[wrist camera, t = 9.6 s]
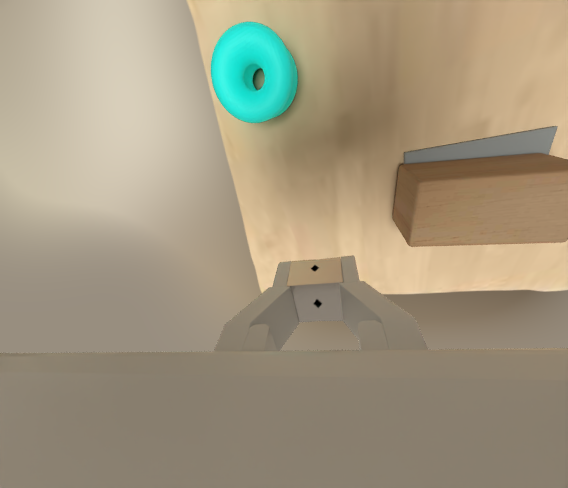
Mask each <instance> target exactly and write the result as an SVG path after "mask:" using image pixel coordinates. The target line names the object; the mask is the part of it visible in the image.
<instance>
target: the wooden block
mask: <svg viewBox="0 0 568 488" xmlns="http://www.w3.org/2000/svg"><path fill="white" fill-rule="evenodd" d="M393 220H394V222H395V223H396V225H397V227H398V228H399V230H400V232H401V233H402V235H403V237H404V238H405V240H406V242H407V244H408V245H409V246H411V247H418V246H453V245H488V244H523V243H558V242H566V241H567V240H568V160H567V159H563V158H559V157H555V156H551V155H547V154H543V153H533V154H521V155H509V156H497V157H485V158H473V159H461V160H449V161H437V162H425V163H413V164H402V165H400V167H399V171H398V179H397V188H396V196H395V204H394V212H393Z"/></svg>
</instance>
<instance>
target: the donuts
mask: <svg viewBox="0 0 568 488" xmlns="http://www.w3.org/2000/svg"><path fill="white" fill-rule="evenodd" d="M260 68H262V69H263V71H264V75H265V80H264V84H263V86H262V88H261V89H260V90H257V89H256V88H255V87H254V85H253V75H254V73H255V71H256V70H258V69H260ZM211 77H212V83H213V87H214V90H215V92H216V95H217V97H218V99H219V101H220V102H221V104H222V105H223V106H224V108H225V109H226V110H227V111H228V112H229V113H230V114H232V115H233V116H234V117H236V118H237V119H239V120H242V121H244V122H248V123H260V122H264V121H267V120H269V119H272V118H275V117H277V116H279V115H281V114H282V113H283V112H285V111H286V110H287V109H288V107H289V106H290V105H291V103H292V101H293V99H294V97H295V94H296V90H297V84H298V75H297V68H296V65H295V62H294V59H293V57H292V55H291V53H290V52H289V50H288V49H287V48H286V46H285V45H284V43H283V41H282V40H281V39H280V37H279V36H278V35H277V34H276V33H275V32H274V31H273V30H271V29H270V28H268V27H267V26H265V25H263V24H260V23H256V22H243V23H239V24H236V25H234V26H232V27H231V28H229V29H228V30H227V31H226V32H225V33H224V34H223V35H222V36H221V37H220V39H219V41H218V42H217V44H216V46H215V49H214V52H213V56H212V61H211Z"/></svg>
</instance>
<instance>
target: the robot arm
mask: <svg viewBox="0 0 568 488" xmlns="http://www.w3.org/2000/svg"><path fill="white" fill-rule="evenodd" d="M312 321H344V323H345V324H346V325H347V327H348V328H349V329H350V330H351V332H352V333H353V334H354V335H355V337H356V338H357V339H358V340H359V350H315V351H314V350H313V351H310V350H309V351H308V350H307V351H280V349H281V348H282V346H283V345H284V344H285V342H286V341H287V339H288V338H289V337H290V335H291V334H292V333H293V331H294V330H295V329H296V327H297V326H298V324H299V322H312ZM0 488H568V348H534V349H445V350H444V349H439V350H428V348H427V345H426V343H425V341H424V338H423V336H422V334H421V331H420V329H419V326H418V324H417V322H416V319H415V318H414V317H413V316H411V315H410V314H408V313H407V312H406V311H404V310H403V309H401V308H400V307H399V306H397V305H396V304H395V303H393V302H392V301H390V300H389V299H388V298H386V297H385V296H383V295H382V294H381V293H379V292H378V291H377V290H375V289H374V288H372V287H371V286H370V285H368V284H367V283H365V282H364V281H359V276H358V271H357V267H356V262H355V257H354V256H353V255H352V256H344V257H341V259H340V257H337V258H328V259H319V260H301V261H292V262H291V261H288V262H280V263H279V264H278V268H277V272H276V275H275V279H274V283H273V287H270V288H268V289H267V290H266V291H264V292H263V293H262V294H261V295H260V296H258V297H257V298H256V299H255V300H254V301H252V302H251V303H250V304H249V305H248V306H246V307H245V308H244V309H243V310H242V311H240V312H239V313H238V314H237V315H236V316H235V317H233V318H232V319H231V320H230V321H229V322H227V323H226V324H225V326H224V328H223V330H222V333H221V335H220V338H219V340H218V342H217V344H216V347H215V349H214V351H212V352H211V351H204V352H202V351H201V352H200V351H199V352H87V353H86V352H82V353H0Z"/></svg>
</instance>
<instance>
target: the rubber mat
mask: <svg viewBox="0 0 568 488" xmlns="http://www.w3.org/2000/svg"><path fill="white" fill-rule="evenodd" d="M557 127H558V126H552V127H546V128H540V129H535V130H529V131H523V132H517V133H512V134H506V135H500V136H495V137H489V138H483V139H477V140H472V141H466V142H460V143H455V144H449V145H443V146H438V147H432V148H426V149H420V150H415V151H409V152H404V164H413V163H425V162H437V161H449V160H461V159H473V158H485V157H497V156H509V155H521V154H533V153H543V154H547V155H549V151H550V148H551V145H552V142H553V139H554V136H555V133H556V130H557Z"/></svg>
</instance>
